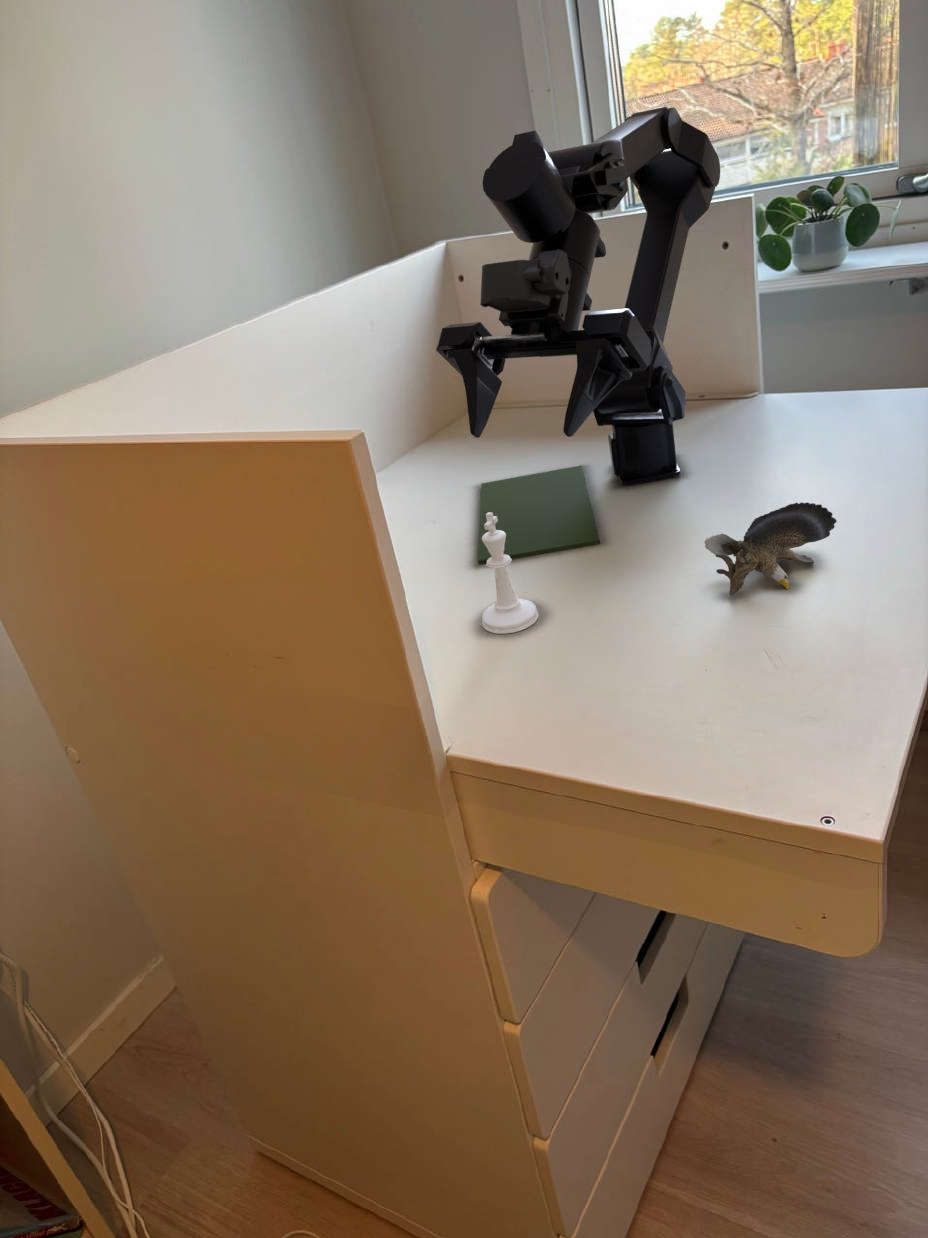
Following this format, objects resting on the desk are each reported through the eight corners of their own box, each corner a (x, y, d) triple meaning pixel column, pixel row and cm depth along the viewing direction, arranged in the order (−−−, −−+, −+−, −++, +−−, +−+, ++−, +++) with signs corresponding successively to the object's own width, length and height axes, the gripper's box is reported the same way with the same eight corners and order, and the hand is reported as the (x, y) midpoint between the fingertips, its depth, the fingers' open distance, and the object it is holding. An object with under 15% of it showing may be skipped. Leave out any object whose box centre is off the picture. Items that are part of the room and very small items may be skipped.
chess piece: (546, 606, 81) (527, 500, 76) (526, 635, 77) (504, 526, 73) (495, 604, 83) (474, 501, 79) (473, 632, 80) (449, 526, 75)
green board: (581, 468, 110) (581, 465, 109) (600, 543, 90) (599, 539, 90) (482, 486, 111) (481, 483, 111) (478, 564, 92) (478, 560, 91)
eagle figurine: (785, 604, 71) (858, 541, 74) (731, 529, 71) (806, 469, 74) (731, 622, 78) (799, 564, 81) (681, 553, 78) (752, 498, 81)
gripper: (424, 232, 81) (381, 394, 78) (622, 200, 71) (580, 385, 68) (485, 303, 90) (448, 450, 88) (668, 284, 80) (633, 450, 77)
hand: (519, 435), depth 80 cm, fingers open, 9 cm apart
